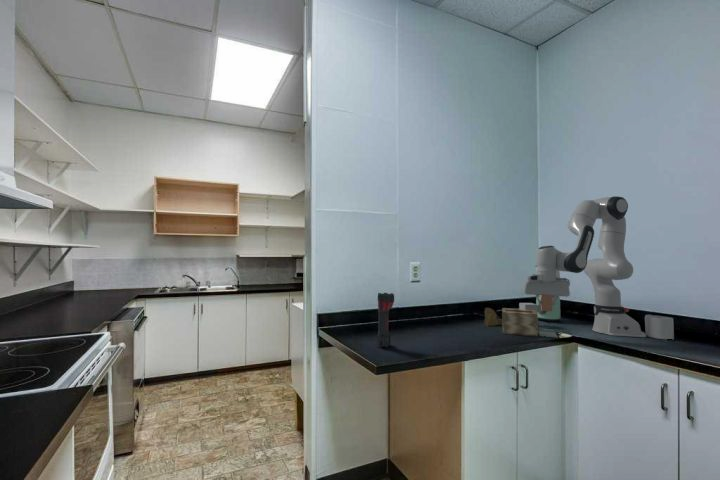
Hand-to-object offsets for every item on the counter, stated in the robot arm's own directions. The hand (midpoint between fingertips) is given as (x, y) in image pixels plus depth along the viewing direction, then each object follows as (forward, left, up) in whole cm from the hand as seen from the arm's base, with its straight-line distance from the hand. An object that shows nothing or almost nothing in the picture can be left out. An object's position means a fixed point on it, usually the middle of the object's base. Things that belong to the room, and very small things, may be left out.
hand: (546, 304), depth 169 cm
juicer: (-6, -43, -16) cm, 46 cm away
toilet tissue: (-51, -19, -16) cm, 57 cm away
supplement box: (+7, -21, -16) cm, 27 cm away
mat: (0, 0, -15) cm, 15 cm away
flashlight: (+69, +54, -16) cm, 89 cm away
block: (0, 0, -3) cm, 3 cm away
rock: (+26, -14, -16) cm, 33 cm away
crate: (+13, 0, -15) cm, 20 cm away
